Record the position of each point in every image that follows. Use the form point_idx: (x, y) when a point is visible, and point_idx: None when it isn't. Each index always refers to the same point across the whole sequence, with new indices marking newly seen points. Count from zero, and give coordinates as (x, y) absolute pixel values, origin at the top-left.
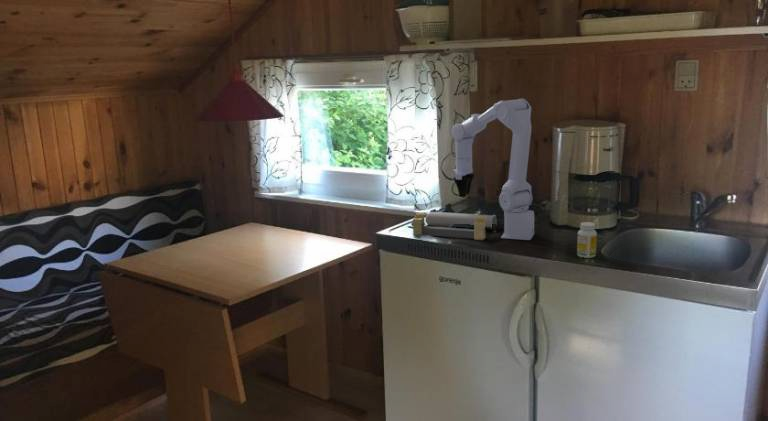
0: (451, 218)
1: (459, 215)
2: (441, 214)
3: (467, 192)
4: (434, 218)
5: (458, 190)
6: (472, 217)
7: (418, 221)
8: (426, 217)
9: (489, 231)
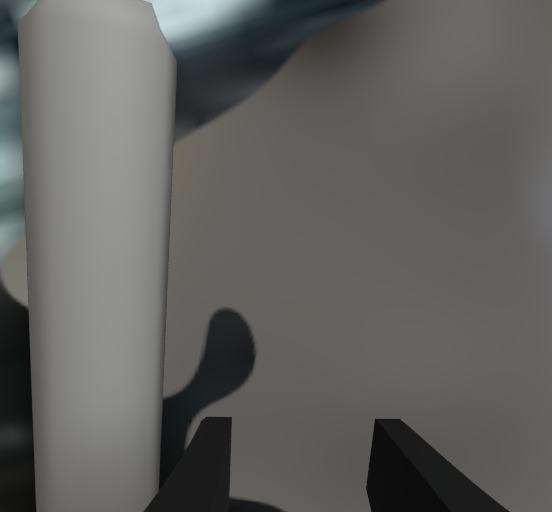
0: (30, 283)
1: (52, 360)
2: (46, 174)
3: (377, 501)
4: (24, 106)
5: (163, 487)
6: (49, 467)
7: None
8: (36, 3)
9: None
